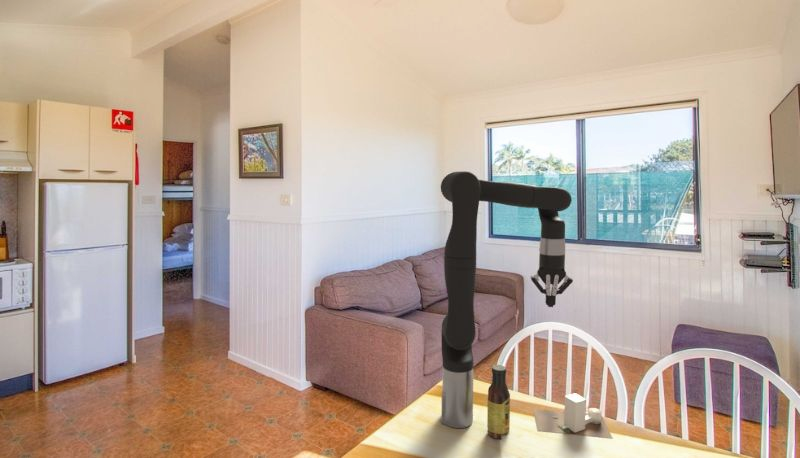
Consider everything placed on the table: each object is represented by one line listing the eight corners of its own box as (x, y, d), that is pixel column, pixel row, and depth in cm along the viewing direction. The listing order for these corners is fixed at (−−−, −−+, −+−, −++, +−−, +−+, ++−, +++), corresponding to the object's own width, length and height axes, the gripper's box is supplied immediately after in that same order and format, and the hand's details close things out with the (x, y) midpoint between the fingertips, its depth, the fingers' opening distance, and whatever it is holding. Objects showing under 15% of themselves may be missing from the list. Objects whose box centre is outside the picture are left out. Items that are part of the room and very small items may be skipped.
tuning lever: (593, 415, 131) (594, 387, 130) (604, 422, 127) (605, 393, 126) (558, 427, 125) (559, 397, 124) (568, 434, 121) (570, 404, 120)
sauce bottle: (509, 441, 121) (511, 374, 119) (487, 439, 123) (488, 372, 120) (508, 428, 128) (510, 364, 125) (487, 426, 129) (488, 362, 127)
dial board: (537, 435, 124) (537, 430, 124) (533, 413, 136) (533, 408, 135) (612, 443, 120) (612, 437, 120) (601, 419, 132) (601, 414, 132)
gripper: (531, 253, 132) (529, 308, 134) (577, 254, 130) (574, 311, 132) (528, 249, 140) (527, 302, 142) (572, 250, 137) (570, 304, 139)
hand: (550, 306), depth 137 cm, fingers closed
